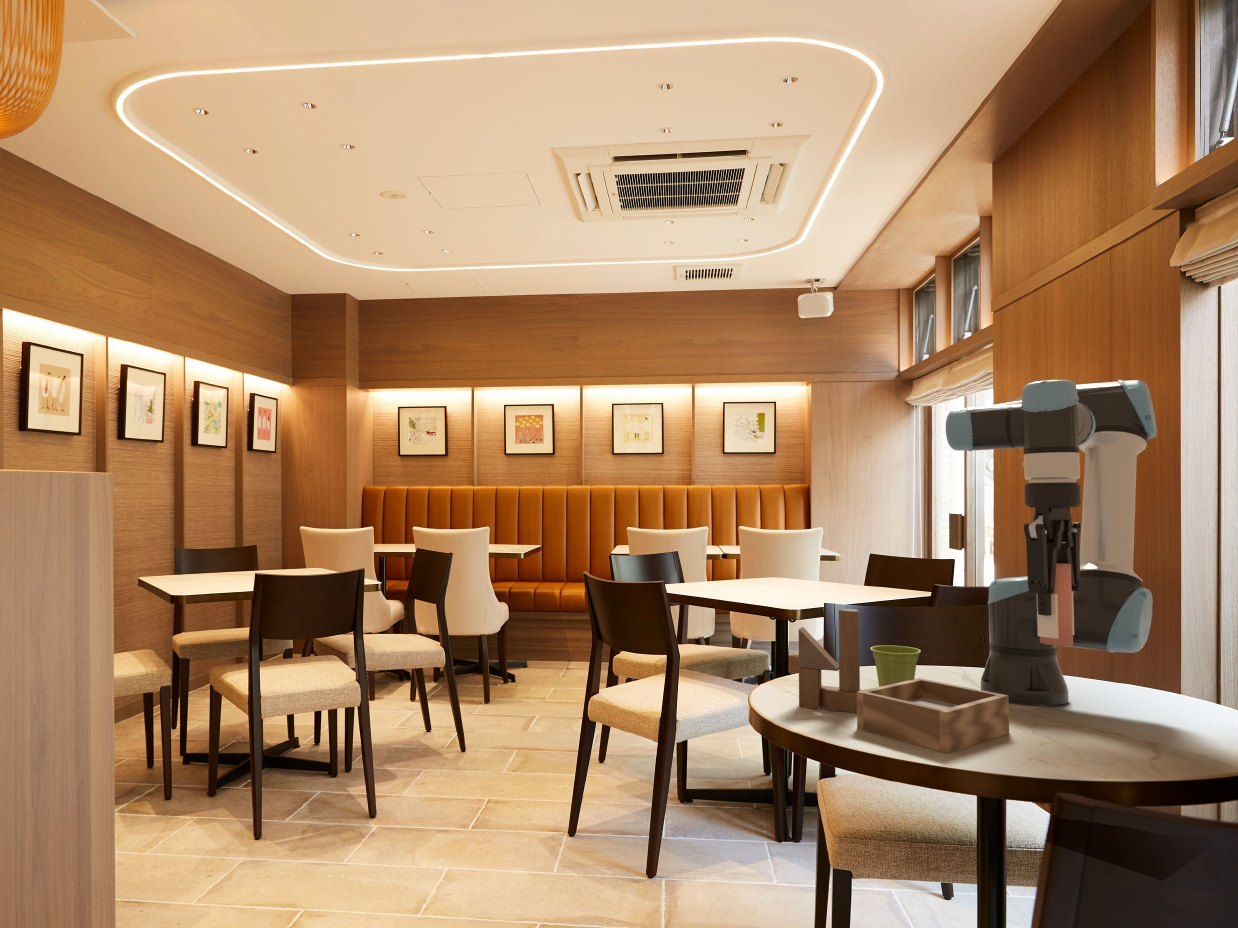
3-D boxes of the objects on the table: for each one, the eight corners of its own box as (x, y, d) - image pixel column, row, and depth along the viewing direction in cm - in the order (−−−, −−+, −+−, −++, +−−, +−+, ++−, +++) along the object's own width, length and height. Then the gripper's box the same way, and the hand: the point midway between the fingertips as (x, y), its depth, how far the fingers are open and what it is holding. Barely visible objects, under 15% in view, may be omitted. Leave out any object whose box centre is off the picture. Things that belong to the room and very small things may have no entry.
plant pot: (860, 691, 156) (860, 646, 156) (894, 686, 160) (894, 643, 161) (896, 701, 148) (896, 654, 148) (932, 696, 152) (931, 650, 152)
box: (920, 712, 140) (919, 677, 140) (1009, 733, 127) (1008, 695, 127) (857, 728, 129) (856, 691, 129) (947, 753, 116) (946, 712, 117)
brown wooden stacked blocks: (802, 703, 146) (801, 605, 147) (862, 709, 142) (861, 609, 143) (798, 707, 143) (797, 607, 144) (859, 714, 138) (858, 611, 139)
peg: (1048, 639, 122) (1046, 562, 123) (1078, 643, 119) (1076, 563, 119) (1034, 642, 119) (1032, 563, 120) (1064, 646, 116) (1062, 565, 116)
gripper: (1053, 482, 128) (1057, 626, 127) (998, 481, 118) (1002, 637, 117) (1103, 481, 122) (1108, 632, 121) (1050, 480, 112) (1054, 645, 111)
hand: (1056, 634), depth 119 cm, fingers closed on peg, 4 cm apart
